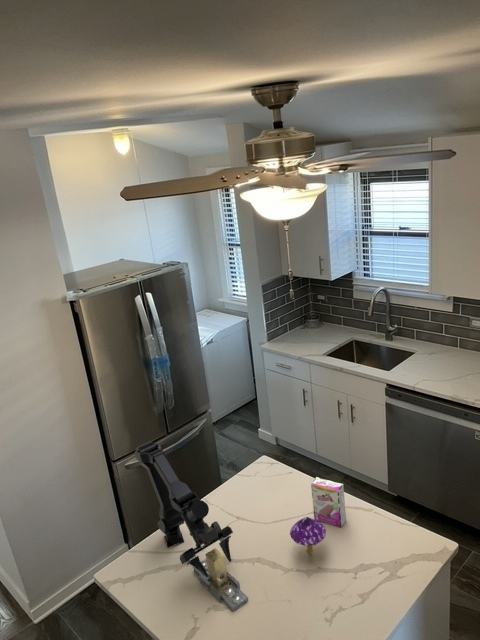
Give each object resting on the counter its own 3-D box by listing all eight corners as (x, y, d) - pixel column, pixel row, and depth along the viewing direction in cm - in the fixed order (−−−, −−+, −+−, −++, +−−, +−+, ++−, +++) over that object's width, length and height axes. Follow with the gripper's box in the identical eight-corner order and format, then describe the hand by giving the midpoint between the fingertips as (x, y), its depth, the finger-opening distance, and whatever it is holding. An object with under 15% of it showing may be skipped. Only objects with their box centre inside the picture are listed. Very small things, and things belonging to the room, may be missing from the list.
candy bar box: (313, 520, 197) (310, 483, 193) (319, 512, 201) (315, 476, 196) (341, 528, 191) (338, 490, 186) (346, 520, 195) (343, 483, 190)
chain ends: (191, 572, 180) (190, 566, 179) (210, 560, 184) (209, 554, 184) (230, 613, 162) (229, 607, 161) (251, 599, 166) (250, 592, 165)
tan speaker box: (210, 584, 174) (205, 554, 170) (220, 578, 176) (215, 547, 173) (219, 593, 170) (214, 562, 166) (229, 586, 172) (224, 555, 169)
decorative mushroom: (311, 535, 190) (307, 500, 185) (335, 553, 180) (332, 517, 175) (285, 553, 183) (280, 517, 179) (309, 572, 173) (305, 535, 169)
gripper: (178, 533, 164) (202, 580, 159) (226, 505, 174) (250, 549, 169) (170, 541, 173) (192, 586, 167) (216, 514, 183) (238, 556, 177)
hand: (219, 569), depth 170 cm, fingers open, 9 cm apart
